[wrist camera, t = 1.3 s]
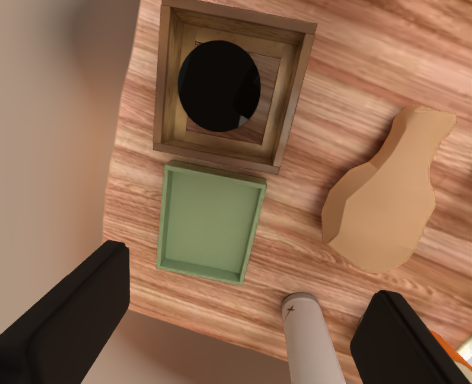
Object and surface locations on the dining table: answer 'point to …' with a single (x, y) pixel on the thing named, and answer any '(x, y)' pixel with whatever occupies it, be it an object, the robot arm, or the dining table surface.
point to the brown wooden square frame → (251, 40)
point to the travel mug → (309, 342)
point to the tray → (208, 221)
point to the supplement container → (219, 86)
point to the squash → (387, 194)
